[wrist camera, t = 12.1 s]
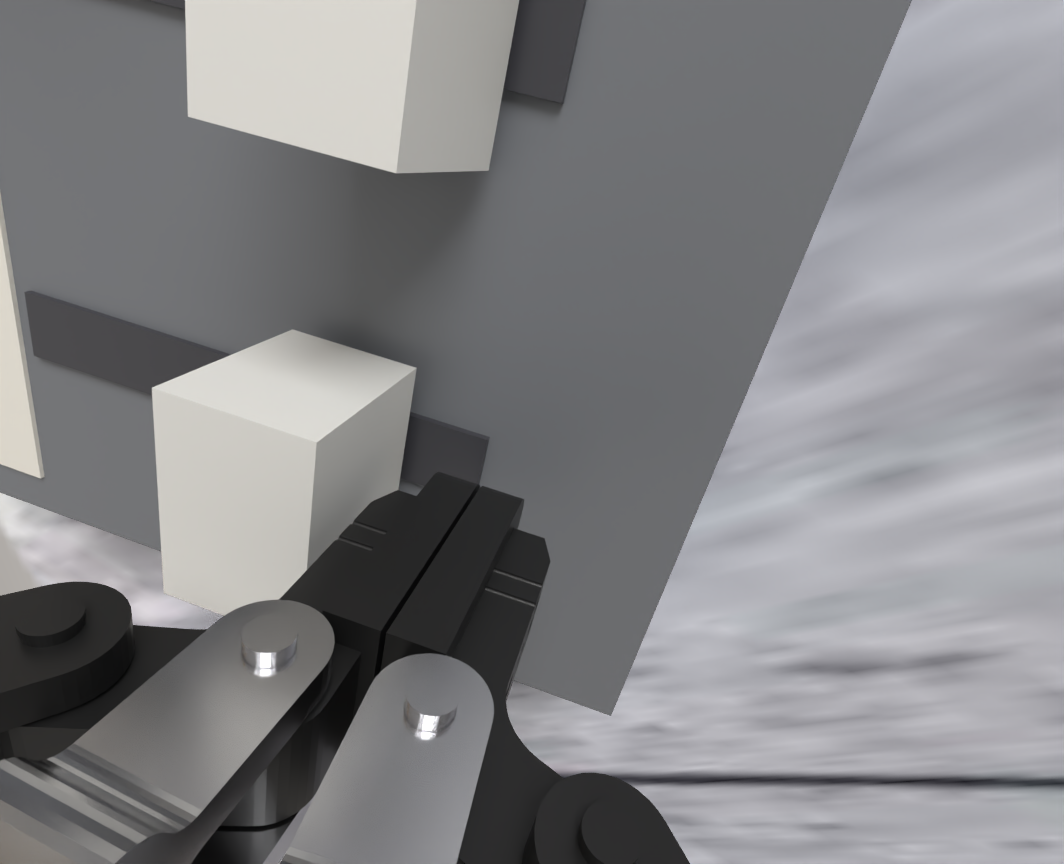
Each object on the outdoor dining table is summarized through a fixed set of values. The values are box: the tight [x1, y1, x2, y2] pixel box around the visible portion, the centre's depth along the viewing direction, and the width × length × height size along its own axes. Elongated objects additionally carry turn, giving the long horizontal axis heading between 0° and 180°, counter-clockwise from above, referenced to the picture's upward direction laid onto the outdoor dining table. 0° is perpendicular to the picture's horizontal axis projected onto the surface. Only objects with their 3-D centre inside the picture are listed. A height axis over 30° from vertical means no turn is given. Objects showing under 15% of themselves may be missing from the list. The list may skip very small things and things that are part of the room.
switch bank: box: [0, 0, 912, 716], centre depth 11 cm, size 18×24×4 cm
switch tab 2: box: [152, 329, 417, 616], centre depth 10 cm, size 2×4×3 cm, turn 166°
